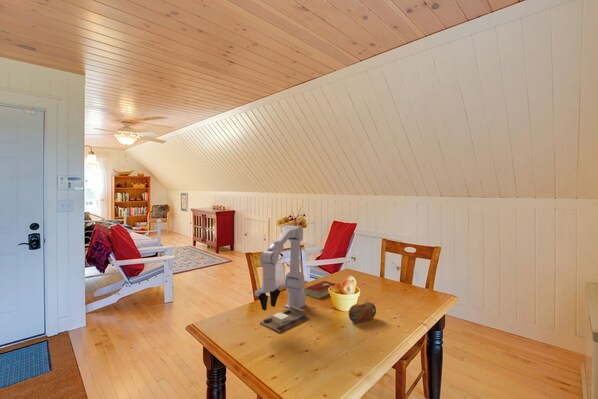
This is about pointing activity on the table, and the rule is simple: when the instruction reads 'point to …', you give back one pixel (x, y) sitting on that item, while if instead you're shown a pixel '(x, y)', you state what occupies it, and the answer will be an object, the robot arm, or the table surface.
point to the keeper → (280, 318)
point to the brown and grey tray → (295, 318)
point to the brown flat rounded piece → (362, 312)
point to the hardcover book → (318, 289)
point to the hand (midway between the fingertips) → (268, 308)
